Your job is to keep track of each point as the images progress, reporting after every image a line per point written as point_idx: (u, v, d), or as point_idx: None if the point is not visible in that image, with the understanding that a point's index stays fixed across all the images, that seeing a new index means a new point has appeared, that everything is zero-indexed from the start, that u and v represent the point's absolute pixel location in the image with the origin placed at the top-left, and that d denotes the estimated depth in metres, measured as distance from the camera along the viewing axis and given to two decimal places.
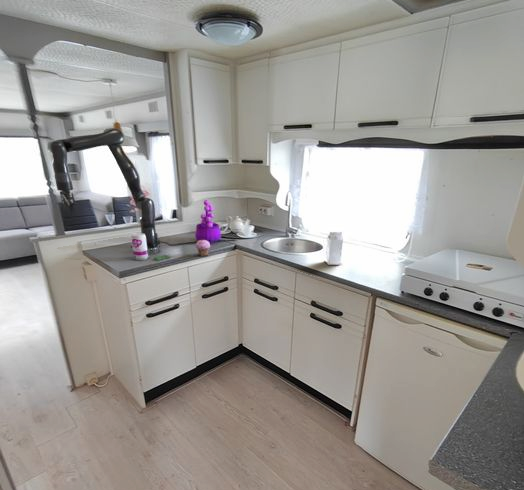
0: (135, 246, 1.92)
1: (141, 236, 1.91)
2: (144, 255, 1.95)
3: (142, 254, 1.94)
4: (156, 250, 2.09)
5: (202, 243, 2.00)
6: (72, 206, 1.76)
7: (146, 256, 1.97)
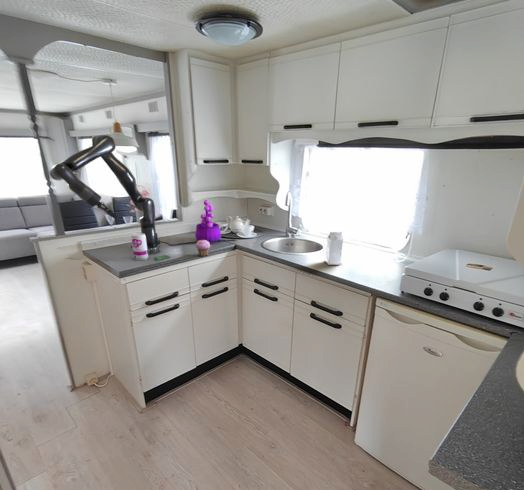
0: (135, 246, 1.92)
1: (141, 236, 1.91)
2: (144, 255, 1.95)
3: (142, 254, 1.94)
4: (156, 250, 2.09)
5: (202, 243, 2.00)
6: (112, 213, 1.77)
7: (146, 256, 1.97)
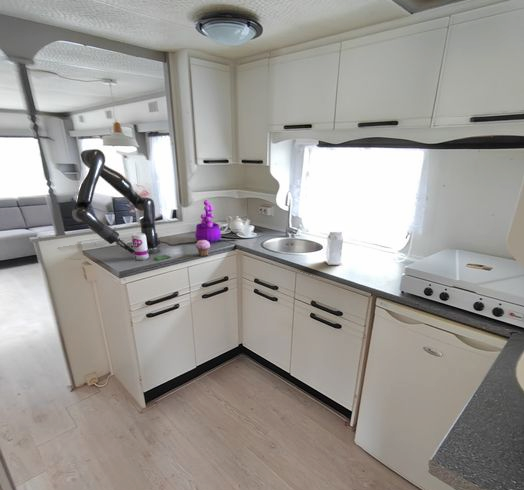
0: (135, 246, 1.92)
1: (141, 236, 1.91)
2: (145, 255, 1.95)
3: (142, 254, 1.94)
4: (156, 250, 2.09)
5: (202, 243, 2.00)
6: (129, 248, 1.91)
7: (146, 256, 1.97)
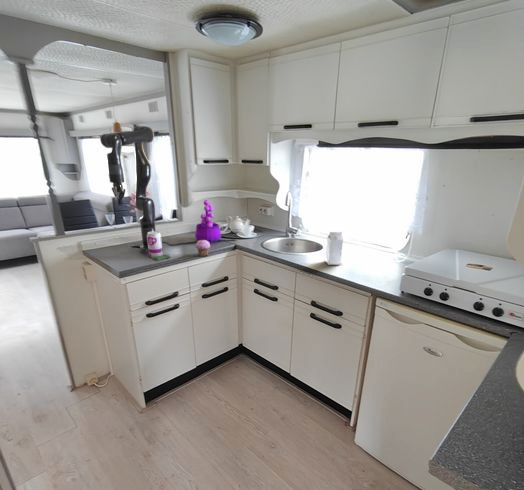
0: (150, 244, 1.97)
1: (156, 234, 1.96)
2: (159, 252, 2.00)
3: (157, 252, 1.99)
4: None
5: (202, 243, 2.00)
6: (121, 199, 1.84)
7: (161, 254, 2.01)
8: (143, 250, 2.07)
